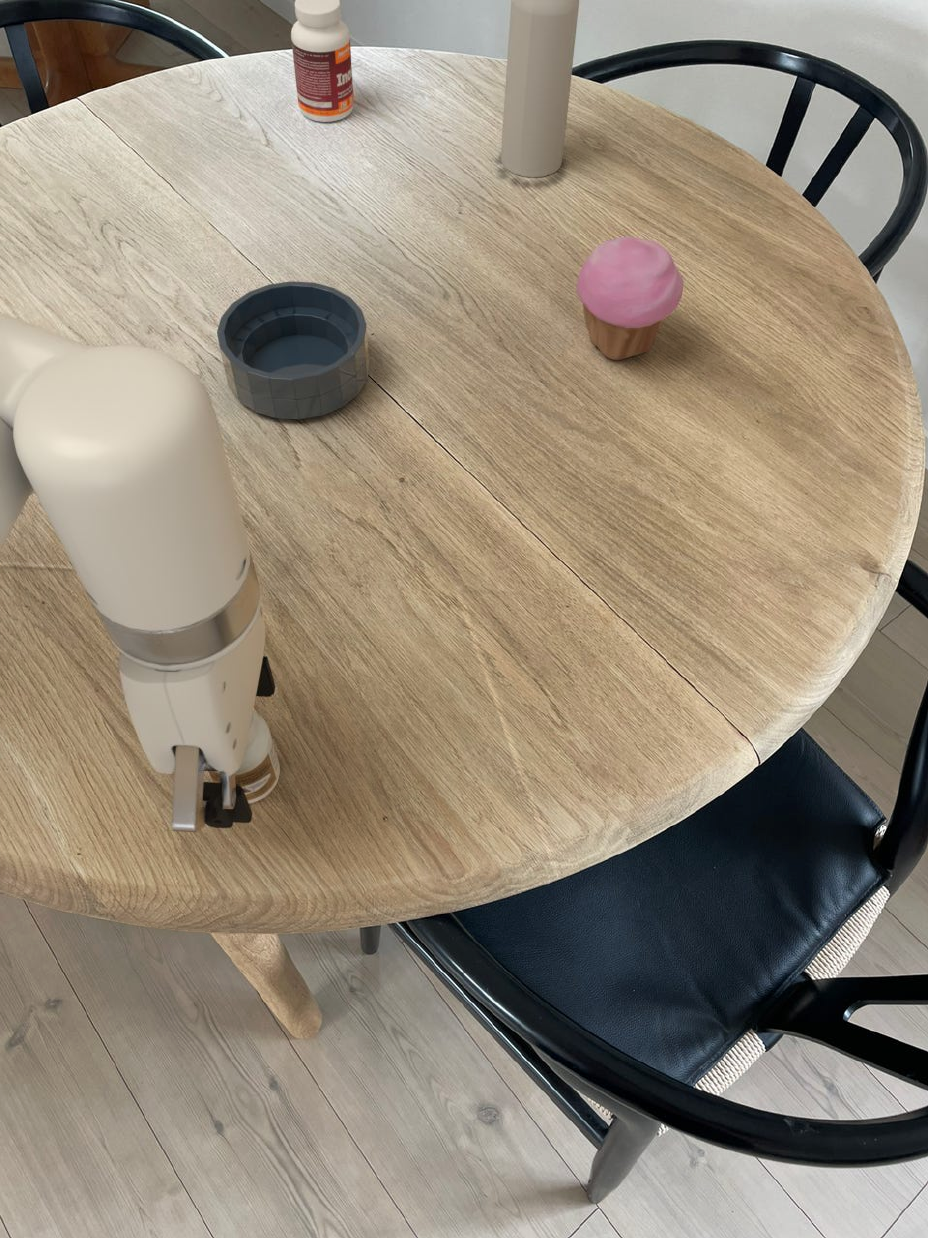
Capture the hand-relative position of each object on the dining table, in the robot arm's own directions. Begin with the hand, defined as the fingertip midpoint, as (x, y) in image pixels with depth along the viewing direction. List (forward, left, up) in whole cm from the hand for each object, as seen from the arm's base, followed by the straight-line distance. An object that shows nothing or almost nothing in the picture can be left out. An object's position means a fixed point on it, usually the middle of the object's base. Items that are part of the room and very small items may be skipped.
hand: (238, 751), depth 61 cm
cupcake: (+26, +44, -4) cm, 51 cm away
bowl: (-2, +38, -3) cm, 38 cm away
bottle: (+18, +73, -4) cm, 75 cm away
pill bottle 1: (0, 0, -4) cm, 4 cm away
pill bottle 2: (-5, +81, -4) cm, 81 cm away
